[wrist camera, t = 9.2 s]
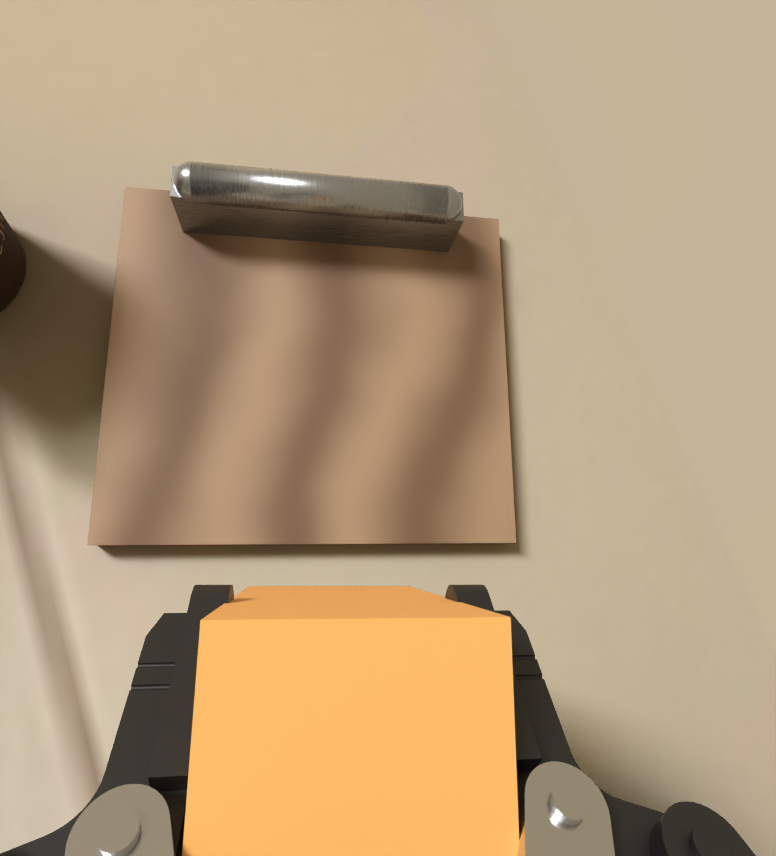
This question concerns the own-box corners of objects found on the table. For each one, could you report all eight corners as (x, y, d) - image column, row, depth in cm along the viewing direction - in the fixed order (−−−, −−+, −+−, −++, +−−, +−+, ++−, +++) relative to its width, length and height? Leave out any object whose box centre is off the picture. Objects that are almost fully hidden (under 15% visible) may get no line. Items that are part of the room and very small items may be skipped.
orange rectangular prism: (238, 766, 14) (169, 1012, 7) (248, 586, 15) (200, 620, 8) (408, 758, 15) (524, 972, 7) (408, 586, 16) (510, 617, 8)
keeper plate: (96, 545, 26) (49, 544, 21) (132, 201, 30) (98, 132, 25) (507, 543, 29) (550, 541, 24) (491, 230, 33) (525, 174, 28)
